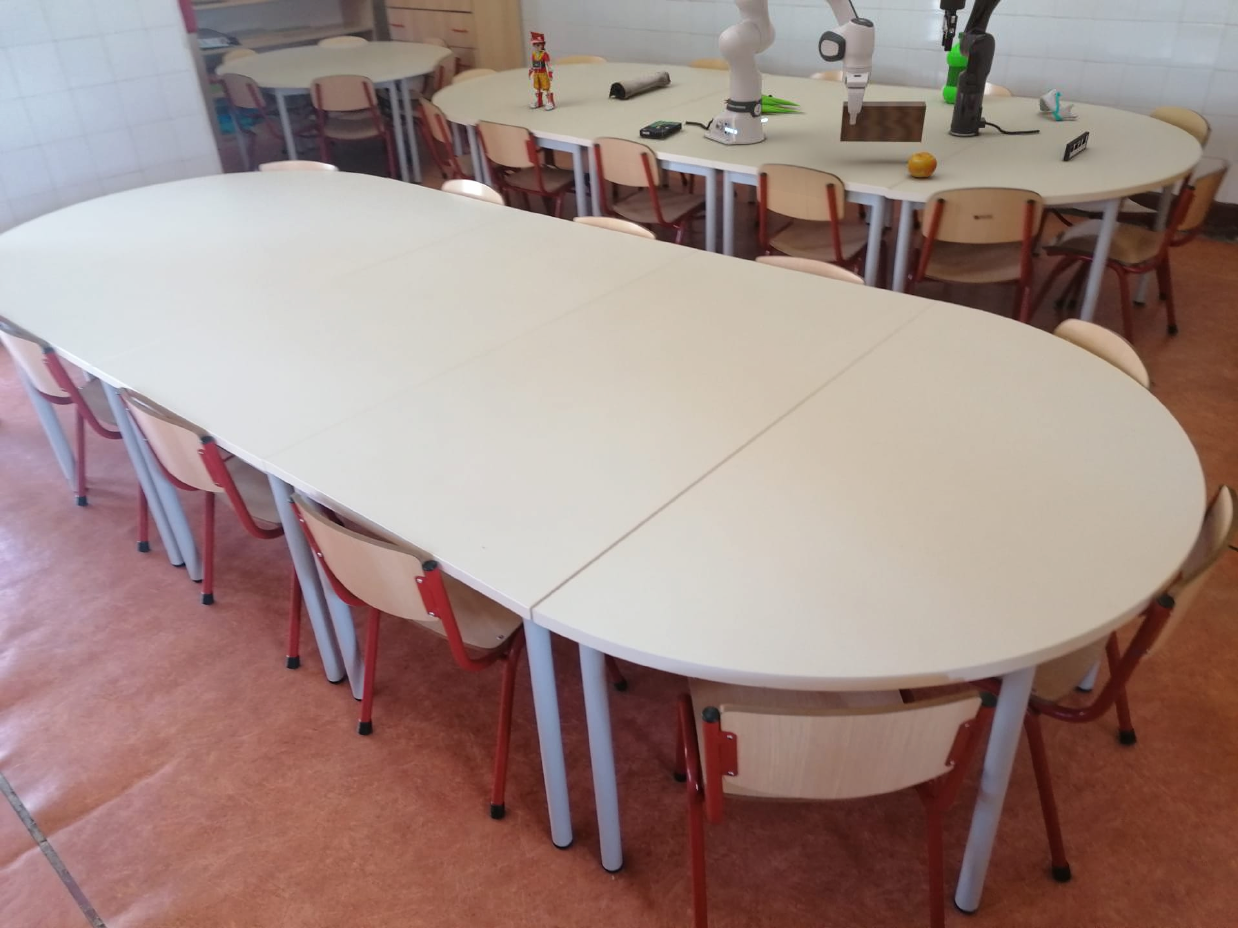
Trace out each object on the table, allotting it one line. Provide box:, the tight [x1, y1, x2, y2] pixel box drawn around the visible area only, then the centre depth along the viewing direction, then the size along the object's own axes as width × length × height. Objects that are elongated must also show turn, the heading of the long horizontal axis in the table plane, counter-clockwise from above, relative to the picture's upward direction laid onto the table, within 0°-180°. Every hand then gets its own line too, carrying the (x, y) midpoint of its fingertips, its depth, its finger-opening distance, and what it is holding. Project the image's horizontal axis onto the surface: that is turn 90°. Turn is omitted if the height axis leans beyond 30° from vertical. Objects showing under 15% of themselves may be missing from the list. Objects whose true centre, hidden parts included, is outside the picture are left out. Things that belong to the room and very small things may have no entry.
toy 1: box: [527, 31, 556, 111], centre depth 374 cm, size 12×9×30 cm
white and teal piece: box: [1038, 88, 1078, 121], centre depth 328 cm, size 15×10×10 cm
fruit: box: [907, 151, 938, 179], centre depth 280 cm, size 8×8×8 cm
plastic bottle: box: [942, 31, 968, 104], centre depth 348 cm, size 10×10×25 cm
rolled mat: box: [608, 71, 672, 101], centre depth 395 cm, size 30×9×10 cm
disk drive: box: [639, 120, 683, 140], centre depth 338 cm, size 10×3×15 cm
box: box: [839, 100, 927, 143], centre depth 290 cm, size 26×6×11 cm, turn 78°
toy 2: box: [761, 93, 804, 114], centre depth 358 cm, size 28×5×30 cm
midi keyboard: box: [1062, 131, 1091, 161], centre depth 291 cm, size 18×1×5 cm, turn 138°
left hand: (852, 121), depth 291 cm, fingers closed on box, 6 cm apart
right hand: (946, 48), depth 287 cm, fingers open, 8 cm apart
